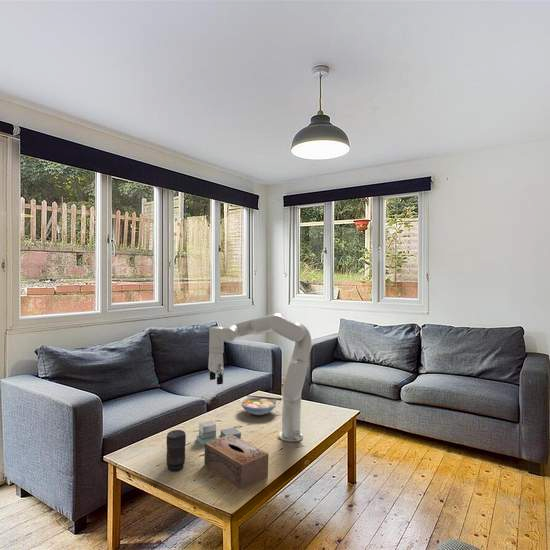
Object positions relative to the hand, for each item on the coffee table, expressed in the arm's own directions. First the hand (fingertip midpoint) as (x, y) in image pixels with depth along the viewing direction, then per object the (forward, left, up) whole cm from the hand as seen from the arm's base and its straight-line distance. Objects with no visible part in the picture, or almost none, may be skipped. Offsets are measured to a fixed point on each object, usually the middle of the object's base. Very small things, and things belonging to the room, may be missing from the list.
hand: (216, 381), depth 206 cm
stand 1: (-9, +8, -27) cm, 29 cm away
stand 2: (-9, -5, -27) cm, 29 cm away
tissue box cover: (-41, +6, -27) cm, 50 cm away
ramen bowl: (+14, -33, -27) cm, 45 cm away
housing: (-9, +7, -24) cm, 27 cm away
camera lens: (-27, +29, -27) cm, 48 cm away
